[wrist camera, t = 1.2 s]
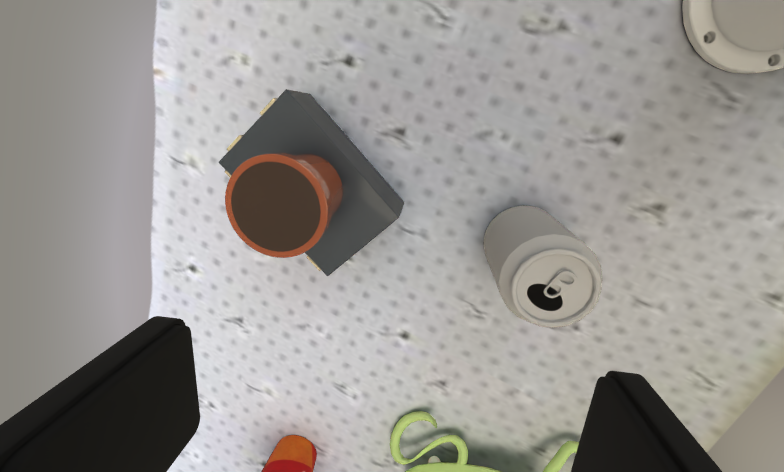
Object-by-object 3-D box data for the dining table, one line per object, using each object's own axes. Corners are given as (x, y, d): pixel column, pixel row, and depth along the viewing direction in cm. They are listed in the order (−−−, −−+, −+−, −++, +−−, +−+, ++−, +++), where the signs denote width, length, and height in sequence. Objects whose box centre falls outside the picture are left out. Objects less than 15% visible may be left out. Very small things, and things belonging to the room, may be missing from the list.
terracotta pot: (307, 127, 31) (272, 130, 24) (367, 194, 32) (349, 215, 25) (250, 185, 33) (203, 202, 26) (308, 245, 34) (277, 277, 27)
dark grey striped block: (307, 90, 36) (283, 85, 30) (404, 202, 38) (399, 217, 32) (246, 155, 38) (213, 161, 32) (340, 256, 40) (325, 278, 35)
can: (467, 248, 39) (481, 302, 27) (513, 188, 36) (549, 221, 25) (525, 285, 39) (563, 354, 28) (574, 230, 37) (637, 280, 25)
